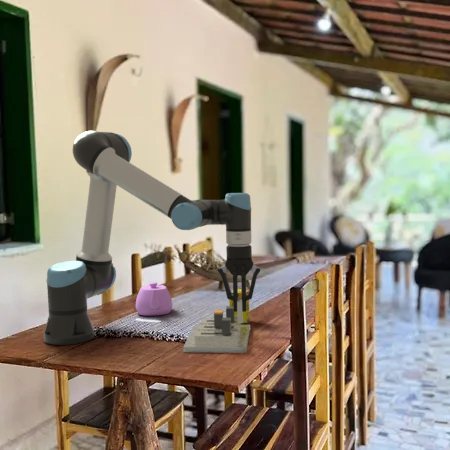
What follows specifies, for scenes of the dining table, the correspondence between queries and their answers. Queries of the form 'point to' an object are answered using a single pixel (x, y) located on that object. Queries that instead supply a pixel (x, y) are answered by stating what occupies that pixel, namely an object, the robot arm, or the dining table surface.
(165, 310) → the teapot
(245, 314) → the supplement box
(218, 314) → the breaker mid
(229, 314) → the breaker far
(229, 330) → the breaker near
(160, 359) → the dining table surface
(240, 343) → the panel
